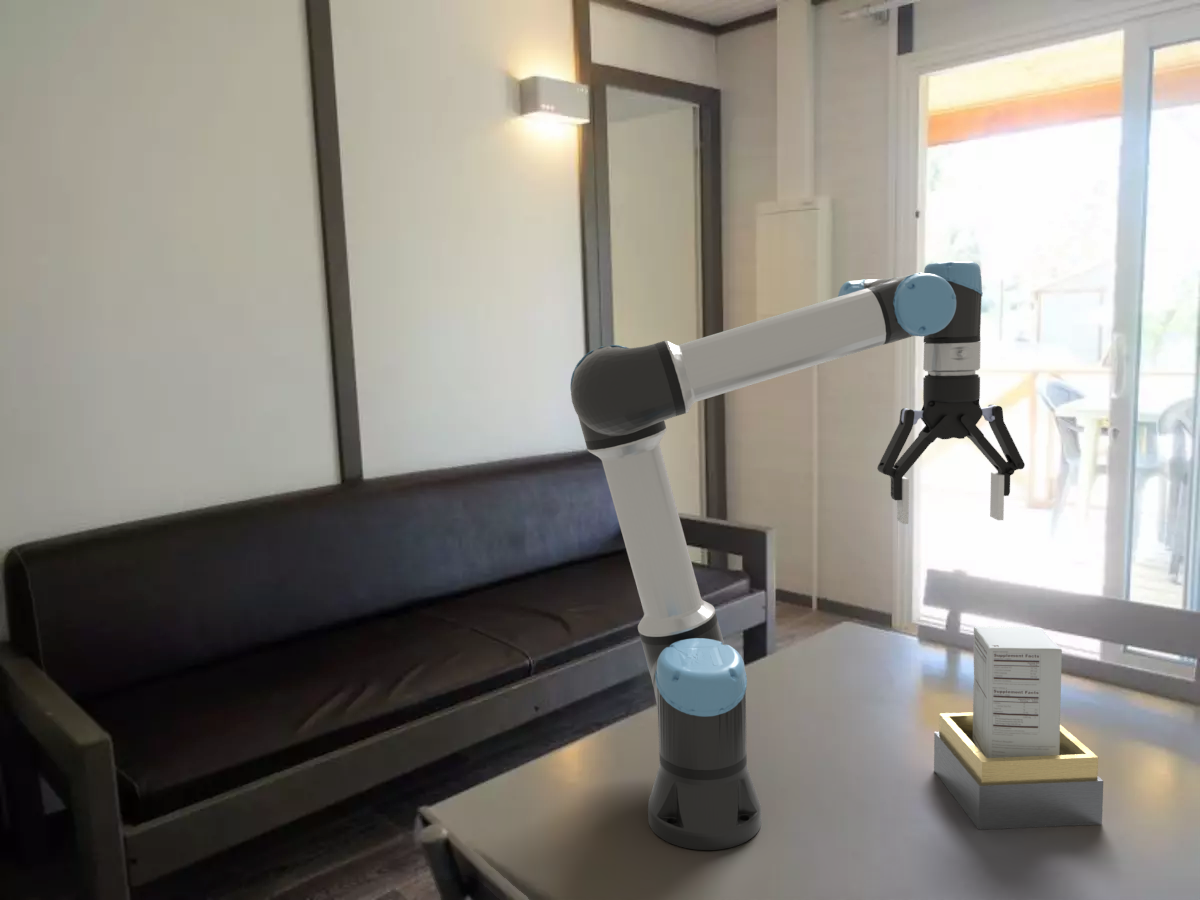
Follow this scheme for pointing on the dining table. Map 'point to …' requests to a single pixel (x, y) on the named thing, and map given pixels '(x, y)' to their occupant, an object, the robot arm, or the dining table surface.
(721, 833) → the robot arm
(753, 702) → the dining table surface
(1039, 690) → the supplement box
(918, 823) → the dining table surface
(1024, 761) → the gray square bin
